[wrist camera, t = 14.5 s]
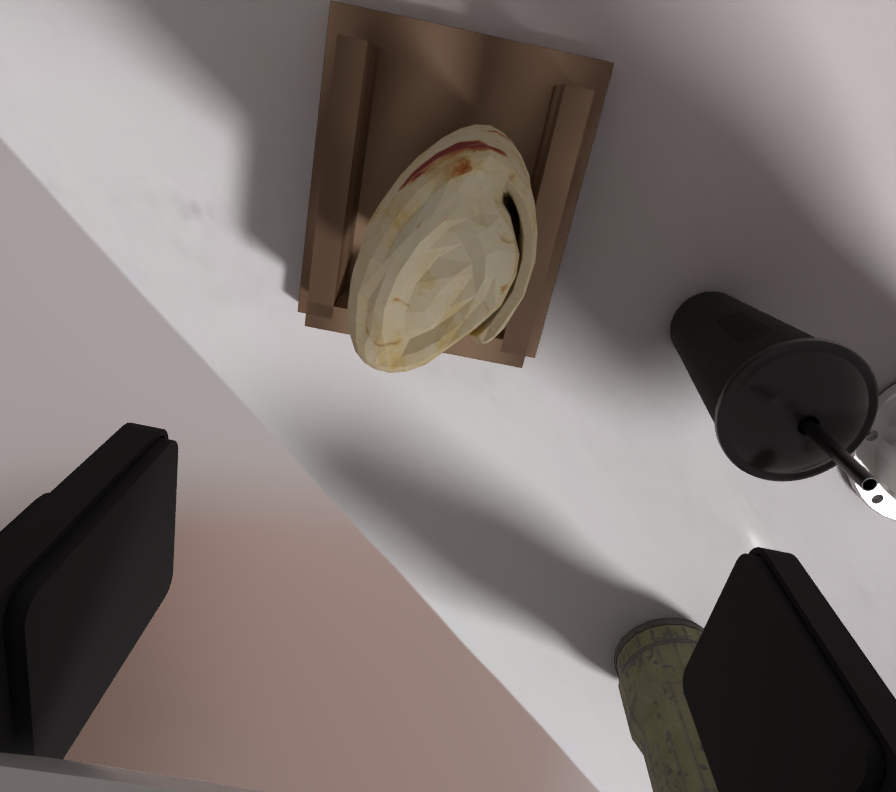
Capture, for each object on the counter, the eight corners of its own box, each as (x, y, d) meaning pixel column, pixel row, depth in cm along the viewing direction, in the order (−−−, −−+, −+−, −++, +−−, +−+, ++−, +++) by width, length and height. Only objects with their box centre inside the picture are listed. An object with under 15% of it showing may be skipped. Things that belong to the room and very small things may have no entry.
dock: (608, 64, 38) (634, 58, 32) (532, 350, 46) (542, 387, 40) (335, 3, 38) (310, -14, 32) (302, 305, 45) (277, 336, 39)
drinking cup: (628, 354, 46) (734, 525, 27) (685, 252, 43) (847, 368, 24) (724, 394, 47) (888, 584, 28) (787, 297, 44) (1015, 440, 26)
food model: (451, 93, 38) (436, 89, 20) (545, 161, 39) (611, 218, 21) (364, 236, 41) (282, 345, 23) (453, 294, 43) (442, 441, 25)
